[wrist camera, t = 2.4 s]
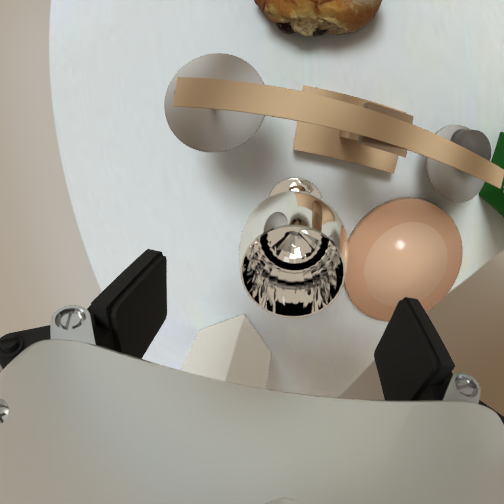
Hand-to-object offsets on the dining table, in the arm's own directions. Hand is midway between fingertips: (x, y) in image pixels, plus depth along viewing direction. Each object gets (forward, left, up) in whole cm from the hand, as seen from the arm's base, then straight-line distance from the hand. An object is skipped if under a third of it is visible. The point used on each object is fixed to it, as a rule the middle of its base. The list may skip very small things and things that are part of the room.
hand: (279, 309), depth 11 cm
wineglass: (0, 0, -14) cm, 14 cm away
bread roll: (+1, -19, -15) cm, 24 cm away
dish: (-11, +3, -14) cm, 18 cm away
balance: (-3, -7, -14) cm, 16 cm away
